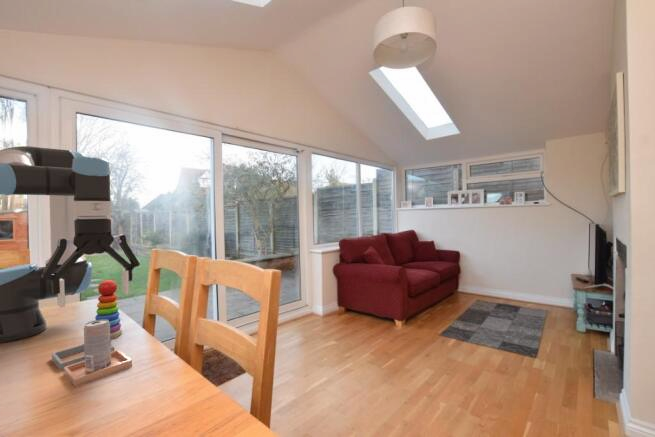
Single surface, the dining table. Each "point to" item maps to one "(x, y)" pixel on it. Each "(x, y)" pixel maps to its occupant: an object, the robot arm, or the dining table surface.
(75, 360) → the grey rectangular frame
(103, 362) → the energy drink
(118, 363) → the terracotta dish
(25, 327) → the robot arm
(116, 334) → the stacking toy
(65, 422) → the dining table surface
